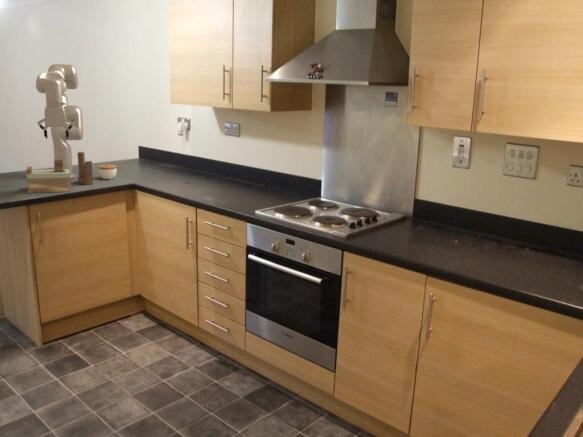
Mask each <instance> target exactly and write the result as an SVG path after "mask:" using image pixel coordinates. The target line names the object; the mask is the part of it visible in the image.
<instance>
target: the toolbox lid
mask: <svg viewBox="0 0 583 437" xmlns="http://www.w3.org/2000/svg"><path fill="white" fill-rule="evenodd" d="M25 170H26V180H27V179H45V178H70V174H69V169H63V172H58V173H55V169H33V166H27V167H26V169H25Z"/></svg>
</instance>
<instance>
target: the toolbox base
mask: <svg viewBox="0 0 583 437" xmlns="http://www.w3.org/2000/svg"><path fill="white" fill-rule="evenodd" d="M26 182H27V192H28V194H29V193H34V194H35V193H54V192H56V193H58V192H59V193H61V192H71V179H70V178H45V179H27V178H26Z"/></svg>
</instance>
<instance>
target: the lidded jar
mask: <svg viewBox="0 0 583 437" xmlns="http://www.w3.org/2000/svg"><path fill="white" fill-rule="evenodd" d="M117 170H118V168H117V165H116V164H109V162H107V163H106V164H100V165H97V172H98V175H99V177H100V178H101V179H102V180H104V179H110V180H114V178H115V177H116V175H117Z"/></svg>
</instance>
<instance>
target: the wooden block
mask: <svg viewBox="0 0 583 437" xmlns="http://www.w3.org/2000/svg"><path fill="white" fill-rule="evenodd" d="M85 158H86V157H85V152H84V151H78V152H77V165H78V166H77V168H78V177H77V182H78V183H79V184H83V185H85V186H90V185H91V186H92V185H94V181H93V180H94V179H93V163H92V162H93V161H92V160H89V161H88V160H87V161H86V159H85Z"/></svg>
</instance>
